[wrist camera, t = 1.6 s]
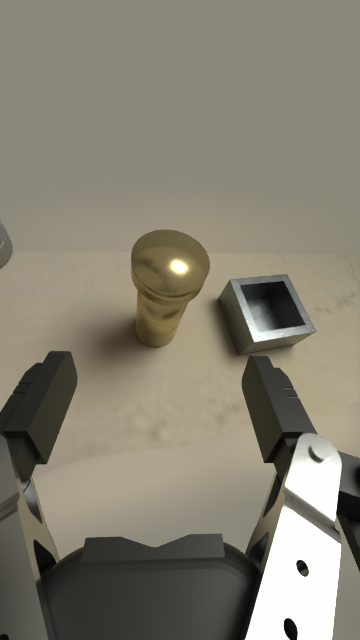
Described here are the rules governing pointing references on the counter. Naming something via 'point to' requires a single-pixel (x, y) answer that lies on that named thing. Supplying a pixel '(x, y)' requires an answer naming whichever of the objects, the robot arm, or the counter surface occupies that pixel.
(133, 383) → the counter surface
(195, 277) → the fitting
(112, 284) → the counter surface
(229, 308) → the open metal box
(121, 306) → the counter surface
